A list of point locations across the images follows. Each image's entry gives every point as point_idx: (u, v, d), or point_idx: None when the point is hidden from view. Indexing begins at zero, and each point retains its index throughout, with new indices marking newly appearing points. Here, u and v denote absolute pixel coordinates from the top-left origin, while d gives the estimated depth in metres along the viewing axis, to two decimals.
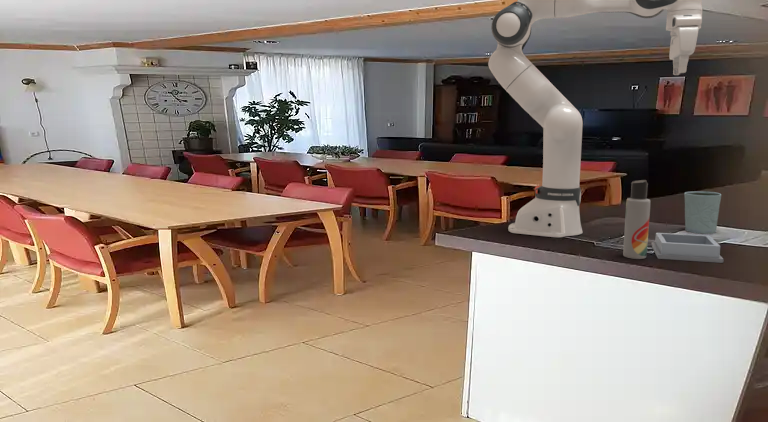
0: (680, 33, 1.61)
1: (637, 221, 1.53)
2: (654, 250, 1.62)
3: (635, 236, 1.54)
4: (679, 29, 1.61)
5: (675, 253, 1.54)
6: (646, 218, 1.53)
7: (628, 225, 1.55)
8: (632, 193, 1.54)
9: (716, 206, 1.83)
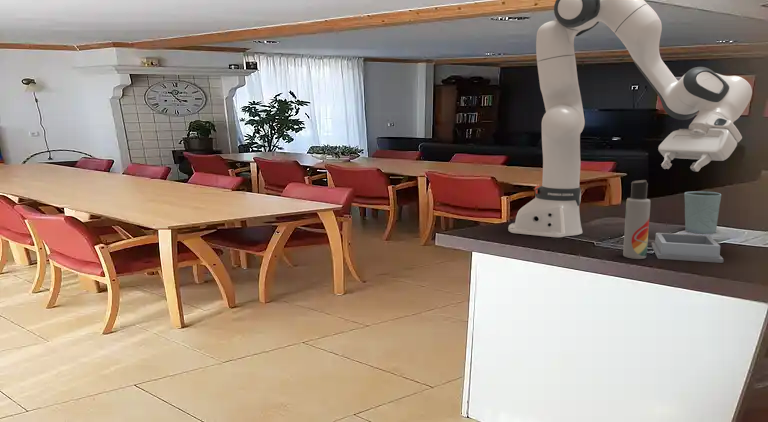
0: (728, 135, 1.50)
1: (637, 221, 1.53)
2: (654, 250, 1.62)
3: (635, 236, 1.54)
4: (728, 131, 1.51)
5: (675, 253, 1.54)
6: (646, 218, 1.53)
7: (628, 225, 1.55)
8: (632, 193, 1.54)
9: (716, 206, 1.83)
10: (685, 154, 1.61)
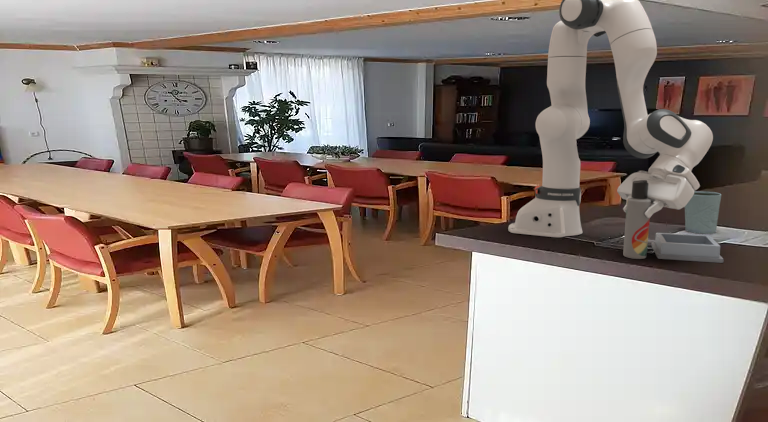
0: (685, 184, 1.47)
1: (637, 221, 1.53)
2: (654, 250, 1.62)
3: (635, 236, 1.54)
4: (685, 180, 1.48)
5: (675, 253, 1.54)
6: (646, 218, 1.53)
7: (628, 225, 1.55)
8: (633, 192, 1.54)
9: (716, 206, 1.83)
10: None
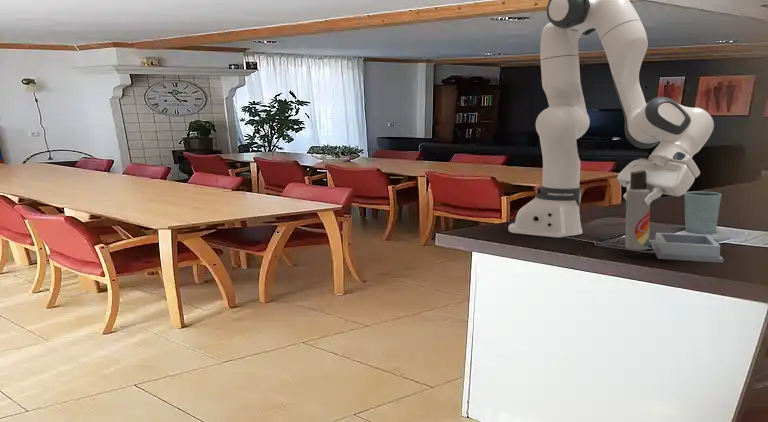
0: (685, 171, 1.47)
1: (639, 211, 1.52)
2: (654, 250, 1.62)
3: (638, 227, 1.53)
4: (686, 167, 1.47)
5: (675, 253, 1.54)
6: (648, 208, 1.53)
7: (630, 216, 1.54)
8: (633, 183, 1.53)
9: (716, 206, 1.83)
10: None
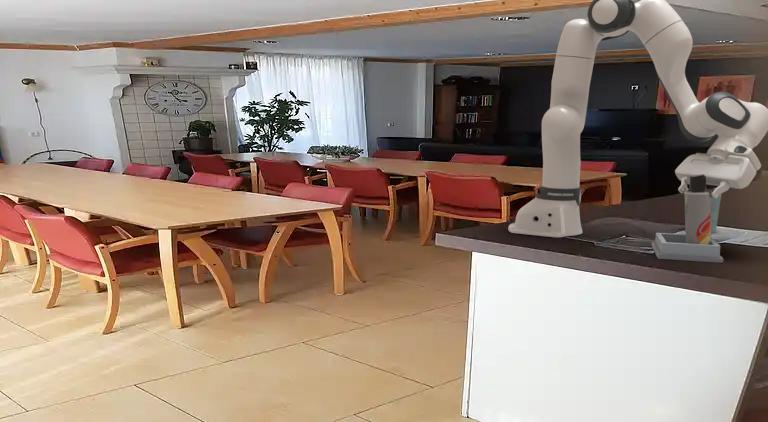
0: (748, 164, 1.50)
1: (701, 214, 1.54)
2: (654, 250, 1.62)
3: (700, 229, 1.54)
4: (748, 160, 1.50)
5: (675, 253, 1.54)
6: (709, 211, 1.54)
7: (691, 219, 1.55)
8: (692, 186, 1.55)
9: (716, 206, 1.83)
10: None
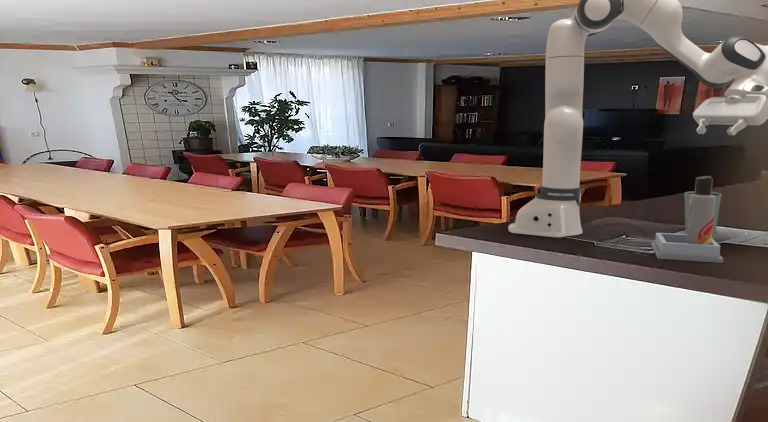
0: (765, 101, 1.55)
1: (704, 217, 1.52)
2: (654, 250, 1.62)
3: (702, 232, 1.53)
4: (765, 97, 1.56)
5: (675, 253, 1.54)
6: (712, 214, 1.53)
7: (694, 221, 1.54)
8: (698, 189, 1.53)
9: (716, 206, 1.83)
10: (720, 120, 1.66)
